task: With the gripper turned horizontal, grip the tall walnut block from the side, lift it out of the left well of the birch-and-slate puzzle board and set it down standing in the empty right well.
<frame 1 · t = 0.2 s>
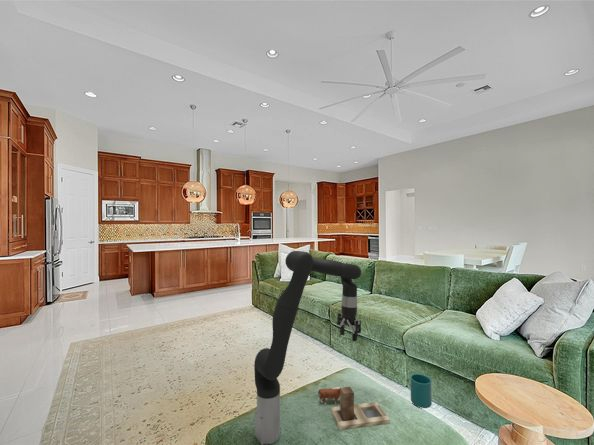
hand: (348, 337, 136), 29 cm above the table, tool pointing down, fingers open, 8 cm apart
bull figurine: (332, 404, 130), on the table
puzzle board: (359, 418, 120), on the table
walnut block: (347, 418, 119), point 1 cm above the table, touching puzzle board
cup: (419, 401, 132), on the table
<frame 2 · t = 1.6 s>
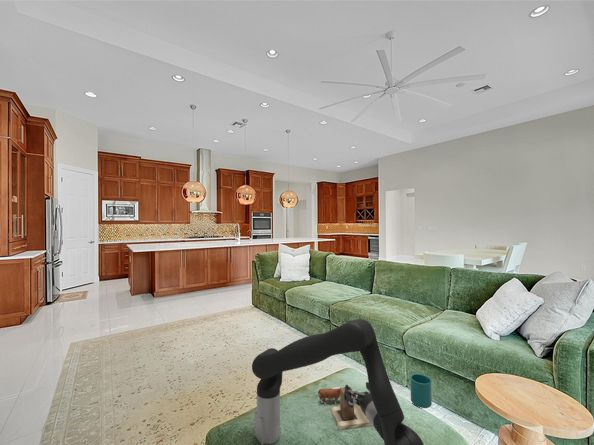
hand: (356, 385, 109), 20 cm above the table, tool horizontal, fingers open, 8 cm apart
nothing on the table moved.
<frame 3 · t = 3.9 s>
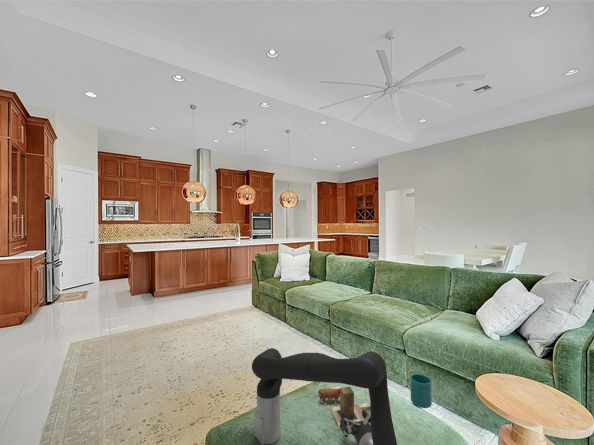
hand: (352, 413, 112), 7 cm above the table, tool horizontal, fingers open, 8 cm apart
nothing on the table moved.
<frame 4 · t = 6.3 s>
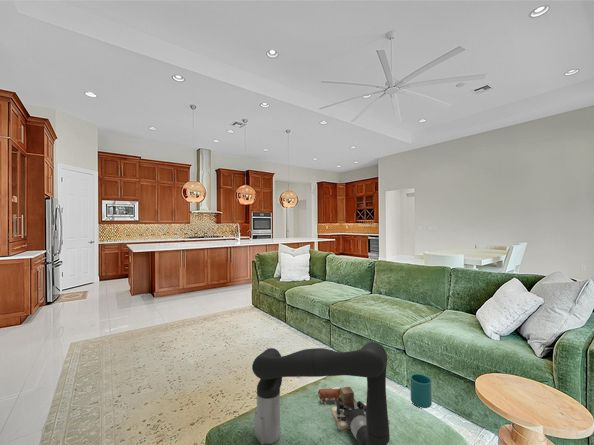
hand: (344, 398, 122), 7 cm above the table, tool horizontal, fingers closed on walnut block, 4 cm apart
walnut block: (347, 418, 119), point 1 cm above the table, touching gripper, puzzle board
everything else where it was.
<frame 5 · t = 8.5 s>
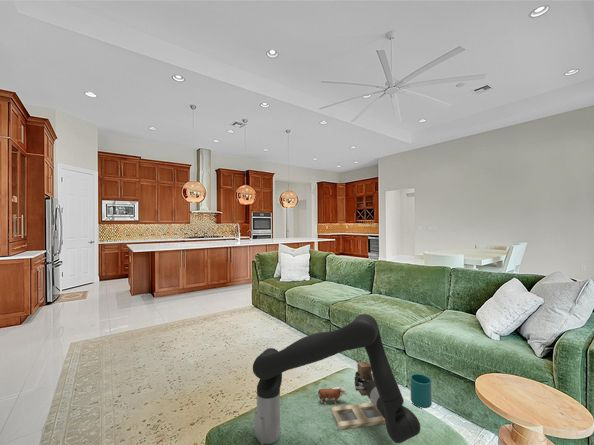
hand: (362, 373, 123), 18 cm above the table, tool horizontal, fingers closed on walnut block, 4 cm apart
walnut block: (364, 392, 120), point 11 cm above the table, touching gripper
everything else where it was.
when the fingers open (9 cm above the table, at t = 11.0 s): walnut block drops 1 cm, resting on puzzle board.
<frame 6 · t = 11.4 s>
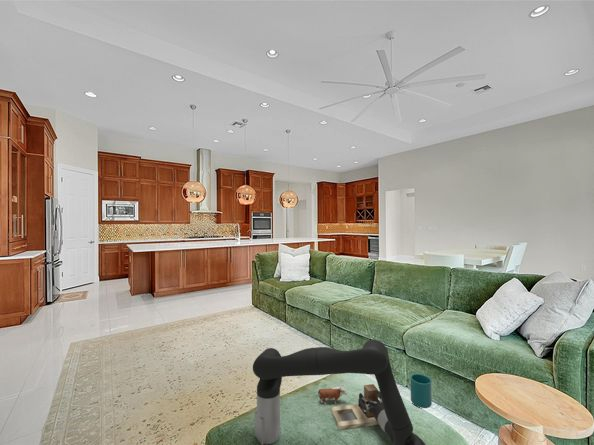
hand: (369, 394, 123), 9 cm above the table, tool horizontal, fingers open, 8 cm apart
walnut block: (371, 415, 121), point 1 cm above the table, touching puzzle board
everything else where it was.
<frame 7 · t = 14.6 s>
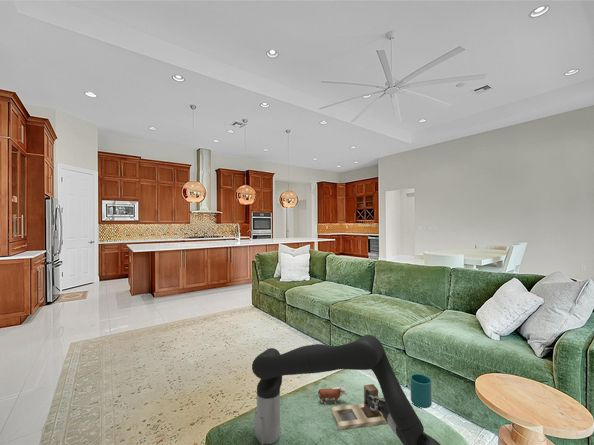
hand: (376, 390, 111), 17 cm above the table, tool horizontal, fingers open, 8 cm apart
nothing on the table moved.
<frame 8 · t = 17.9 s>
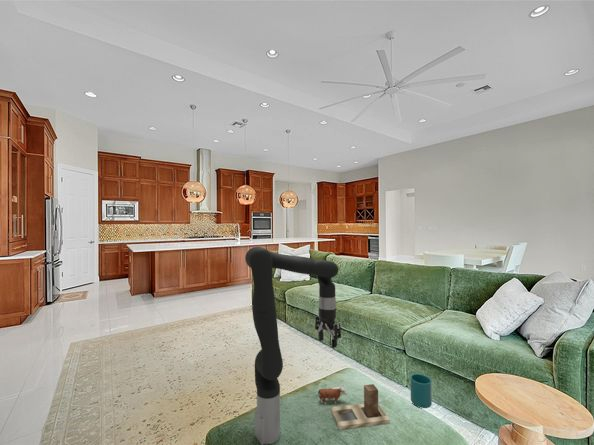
hand: (327, 343, 121), 32 cm above the table, tool pointing down, fingers open, 8 cm apart
nothing on the table moved.
at the end: walnut block 0.0 cm from the target spot on the puzzle board, point 0.8 cm above the puzzle board's base; walnut block tilted 0°; the gripper is holding nothing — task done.
